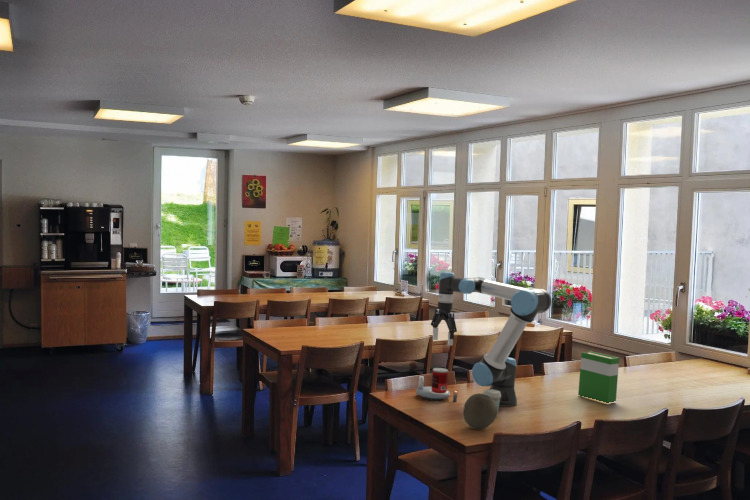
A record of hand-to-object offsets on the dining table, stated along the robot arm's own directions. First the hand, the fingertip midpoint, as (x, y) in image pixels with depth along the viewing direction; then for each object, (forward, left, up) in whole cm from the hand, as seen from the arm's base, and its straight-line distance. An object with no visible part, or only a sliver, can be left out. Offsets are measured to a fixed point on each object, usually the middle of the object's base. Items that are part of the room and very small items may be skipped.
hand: (442, 342), depth 335 cm
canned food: (-7, +10, -23) cm, 26 cm away
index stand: (-8, +11, -26) cm, 29 cm away
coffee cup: (-41, +13, -27) cm, 50 cm away
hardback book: (-57, -62, -27) cm, 88 cm away
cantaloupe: (-48, +32, -27) cm, 63 cm away
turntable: (-5, +11, -24) cm, 27 cm away
